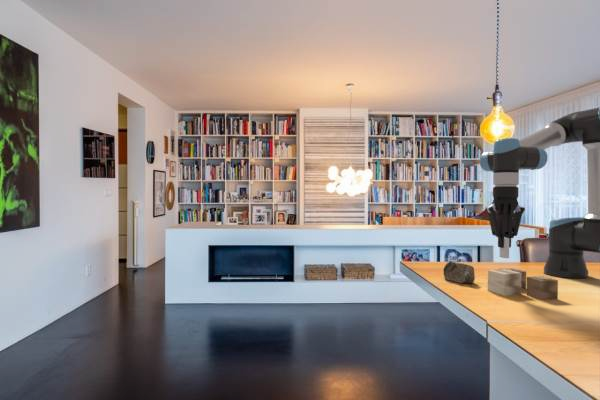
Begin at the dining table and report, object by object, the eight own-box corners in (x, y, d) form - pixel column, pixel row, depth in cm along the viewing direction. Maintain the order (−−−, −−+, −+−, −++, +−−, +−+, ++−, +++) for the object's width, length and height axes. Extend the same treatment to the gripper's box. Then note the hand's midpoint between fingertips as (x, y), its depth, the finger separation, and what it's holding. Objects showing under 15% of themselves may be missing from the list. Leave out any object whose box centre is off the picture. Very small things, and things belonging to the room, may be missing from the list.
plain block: (504, 289, 137) (504, 269, 137) (521, 294, 131) (521, 273, 130) (487, 290, 135) (487, 270, 135) (504, 296, 128) (504, 274, 128)
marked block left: (543, 294, 130) (543, 275, 130) (557, 299, 124) (557, 279, 124) (526, 295, 130) (526, 276, 129) (540, 300, 124) (540, 280, 123)
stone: (467, 284, 143) (468, 265, 143) (439, 279, 153) (440, 260, 153) (479, 283, 147) (480, 264, 147) (451, 277, 157) (451, 259, 157)
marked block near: (514, 284, 144) (514, 267, 144) (526, 288, 138) (526, 270, 138) (498, 285, 143) (499, 268, 143) (510, 289, 137) (510, 271, 137)
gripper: (515, 186, 137) (514, 255, 137) (480, 186, 135) (479, 256, 135) (531, 186, 129) (530, 259, 130) (494, 185, 128) (493, 259, 128)
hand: (504, 257), depth 133 cm, fingers closed
